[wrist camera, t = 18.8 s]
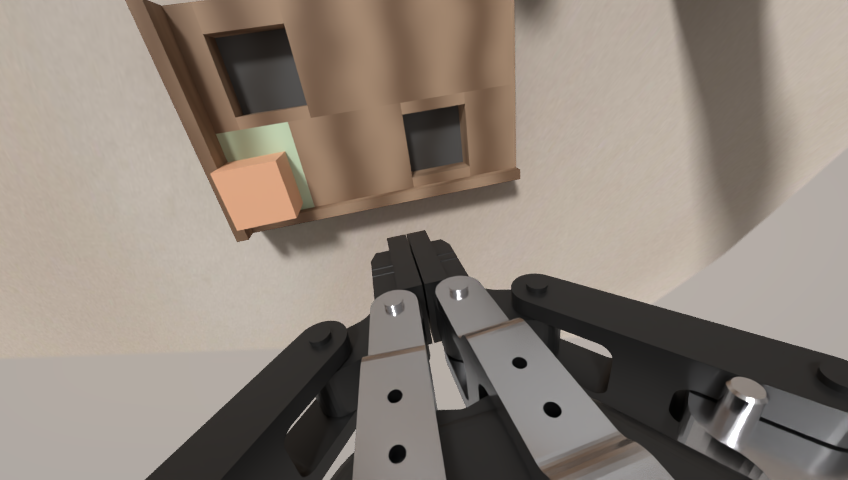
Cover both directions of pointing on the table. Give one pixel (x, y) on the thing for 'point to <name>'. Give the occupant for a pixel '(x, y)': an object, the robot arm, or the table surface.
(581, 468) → the robot arm
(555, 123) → the table surface
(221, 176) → the terracotta block
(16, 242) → the table surface
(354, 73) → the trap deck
